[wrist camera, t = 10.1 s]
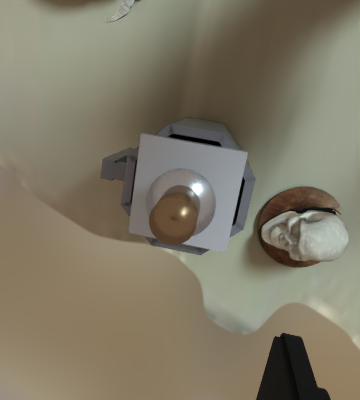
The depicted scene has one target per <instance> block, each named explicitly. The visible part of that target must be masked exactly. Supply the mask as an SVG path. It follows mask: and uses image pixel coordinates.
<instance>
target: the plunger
mask: <svg viewBox="0 0 360 400" xmlns="http://www.w3.org/2000/svg"><path fill="white" fill-rule="evenodd" d="M180 140H186V141H192V142H197V143H203V144H208V145H214V146H219V147H222V145H221V144H220V142H218V141H212V140H207V139H201V138H196V137H190V136H185V137H183V138H181V139H180ZM215 209H216V197H215V193H214V190H213V188H212V186H211V184H210V183H209V182H208V180H207V179H206V178H205V177H204V176H202V175H201V174H199V173H198V172H196V171H193V170H190V169H185V168H177V169H172V170H169V171H166V172H164V173H163V174H161V175H160V176H159V177H157V179H156V180H155V181H154V182H153V183H152V184H151V186H150V188H149V190H148V192H147V196H146V210H147V214H148V216H149V226H150V230H151V232H152V233H153V235H154V236H155V237H156V238H157V239H158V240H159V241H161V242H163V243H165V244H169V245H178V244H182V243H184V242H186V241H187V240H189V239H190V238H191V237H192V236H195V235H197V234H199V233H201V232H202V231H204V230H205V229H206V228H207V227H208V226H209V224H210V223H211V221H212V219H213V217H214V214H215Z"/></svg>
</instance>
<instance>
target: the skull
mask: <svg viewBox="0 0 360 400" xmlns="http://www.w3.org/2000/svg"><path fill="white" fill-rule="evenodd" d="M338 206H340V205H339V203H338V202H337V201H336V200H335V199H334V198H333V197H332V196H331V195H330V194H328V193H327V192H325V191H323V190H320V189H318V188H313V187H296V188H292V189H288V190H286V191H284V192H282V193H280V194H278V195H277V196H275V197H274V198H273V199H272V200H271V201H270V202H269V203H268V204H267V206H266V207H265V208H264V210H263V212H262V214H261V217H260V220H259V225H258V234H259V239H260V242H261V245H262V247H263V248H264V250H265V251H266V253H267V254H268V255H269V256H270V257H271V258H273V259H274V260H276V261H277V262H279V263H281V264H284V265H287V266H292V267H307V266H312V265H314V264H317V263H319V262H323V261H333V260H335V259H337V258H339V257H340V256H341V255H342V254H343V253H344V251H345V249H346V247H347V245H348V242H349V234H348V231H347V228H346V226H345V224H344V222H343V221H342V220H341V219H340V218H339V217H338V216H336V213H335V211H337V212H338V213H340V211H339V210H338ZM339 208H340V207H339ZM333 210H335V211H333ZM340 215H341V213H340Z"/></svg>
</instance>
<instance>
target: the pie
mask: <svg viewBox="0 0 360 400" xmlns="http://www.w3.org/2000/svg"><path fill="white" fill-rule="evenodd" d="M134 1H135V0H125V1H124V2H123V3H122V4H121V6H120V9H119V11H118V12H117V13H116V14H115V15H114V16H113V17H111V18H110V19H108V20H106V21H104V22H110V21H115V20H117V19H119V18H120V17H122V16H123V15H125V14H126V13H128V12H129V9H130V6H132V5H133V3H134Z"/></svg>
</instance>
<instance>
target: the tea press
mask: <svg viewBox="0 0 360 400" xmlns="http://www.w3.org/2000/svg"><path fill="white" fill-rule="evenodd" d="M185 136H190V137H196V138H201V139H207V140H212V141H218V142H220V144H221V145H222V147H219V146H214V145H208V144H203V143H197V142H192V141H186V140H180V139H181V138H183V137H185ZM247 155H248V152H247V151H243V150H242V149H241V147H240V146H239V144H238V143H237V141H236V140H235V138H234V137H233V135H232V134H231V132H230V131H229V130H228V128H227V127H226V125H225V124H224V123H218V122H213V121H207V120H201V119H196V118H186V119H183V120H180V121H177V122H173V123H170V124H169V125H167V126H166V127H165V128H163V129H162V130H160V131H159V132H158V133H156V134H155V135H153V134H147V133H142V134H141V137H140V145H139V147H137V148H136V149H133V148H127V149H125V150H123V151H120V152H118V153H116V154H113V155H111V156H109V157H106V158H104V159H103V164H102V173H101V178H103V179H108V180H114V179H118V180H123V181H124V187H123V195H122V204H121V205H122V207H123V208H124V209H125V211H126V212H127V213H128V215H129V216H130V221H129V229H128V233H131V234H136V235H141V236H145V237H146V239H147V240H148V241H149V243H150V244H151V245H153V246H158V247H163V248H168V249H173V250H178V251H182V252H187V253H192V254H197V255H202V254H203V253H205V252H207V251H208V250H215V251H220V252H225V253H226V250H227V246H228V241H229V238H230V237H231V236H233V235H235V234H236V233H238V232H240V231H241V230H243V229H244V225H245V221H246V217H247V212H248V208H249V204H250V199H251V195H252V191H253V186H254V182H255V177H254V175H253V172H252V170H251V168H250V165H249V163H248V161H247ZM177 168H185V169H190V170H193V171H196V172H198V173H199V174H201V175H202V176H204V177H205V178H206V179H207V180H208V182H209V183H210V184H211V186H212V188H213V190H214V193H215V197H216V209H215V214H214V217H213V219H212V221H211V223H210V224H209V226H208V227H207V228H206V229H205V230H204V231H202V232H201V233H199V234H197V235H195V236H192V237H191V238H190V239H189V240H187V241H186V242H184V243H182V244H178V245H169V244H165V243H163V242H161V241H159V240H158V239H157V238H156V237H155V236H154V235H153V233H152V232H151V230H150V226H149V216H148V214H147V210H146V196H147V192H148V190H149V188H150V186H151V184H152V183H153V182H154V181H155V180H156V179H157V177H159V176H160V175H161V174H163V173H164V172H166V171H169V170H172V169H177Z"/></svg>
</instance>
